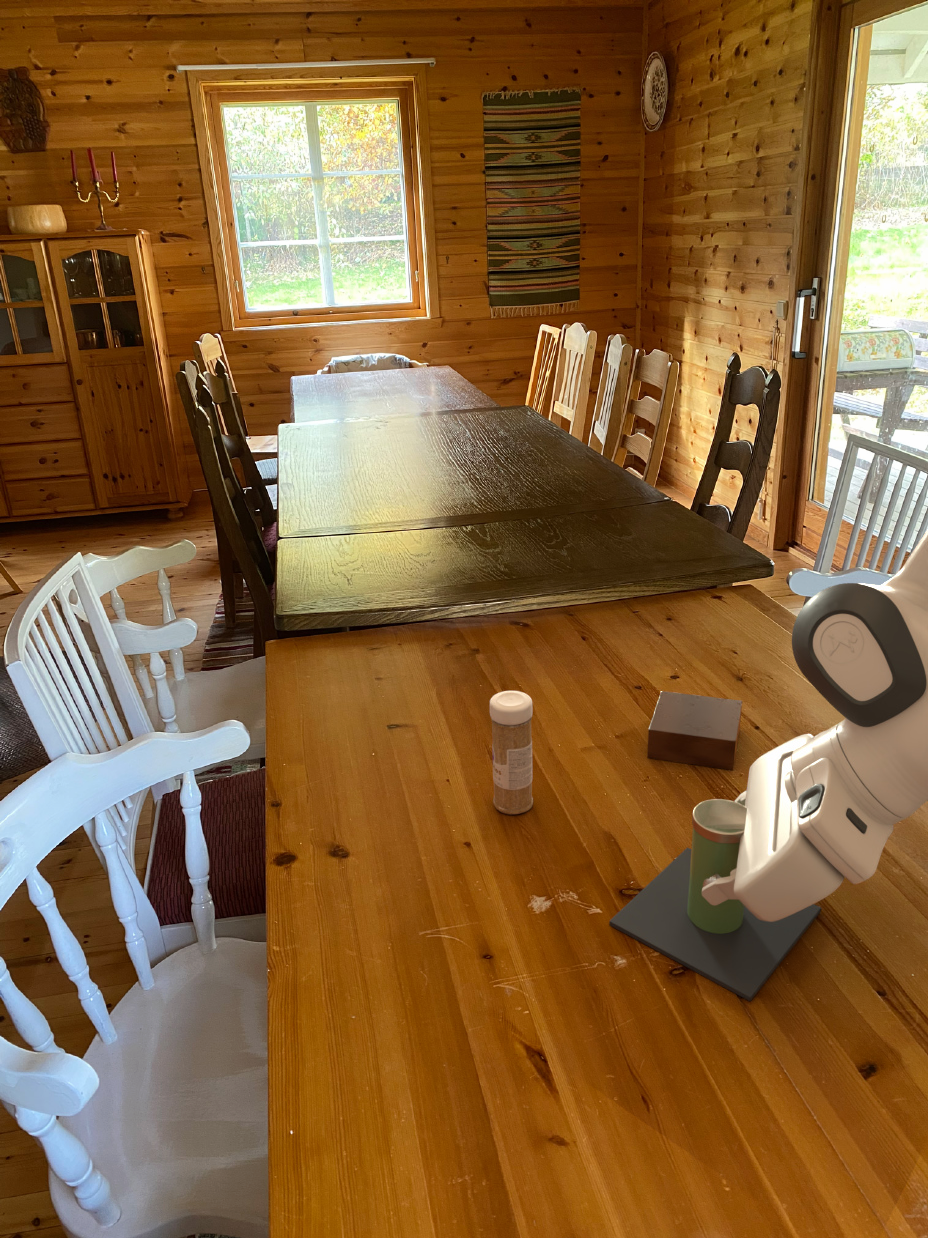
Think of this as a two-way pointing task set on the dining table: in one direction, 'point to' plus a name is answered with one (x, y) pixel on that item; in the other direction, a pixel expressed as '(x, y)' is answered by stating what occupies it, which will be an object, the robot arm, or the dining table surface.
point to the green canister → (715, 862)
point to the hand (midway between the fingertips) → (712, 860)
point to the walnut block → (695, 730)
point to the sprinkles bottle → (512, 751)
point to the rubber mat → (709, 933)
